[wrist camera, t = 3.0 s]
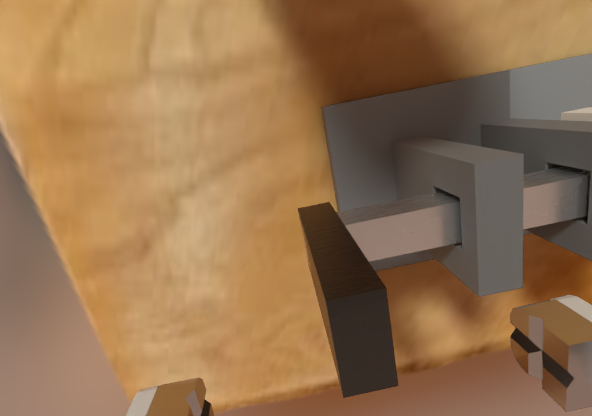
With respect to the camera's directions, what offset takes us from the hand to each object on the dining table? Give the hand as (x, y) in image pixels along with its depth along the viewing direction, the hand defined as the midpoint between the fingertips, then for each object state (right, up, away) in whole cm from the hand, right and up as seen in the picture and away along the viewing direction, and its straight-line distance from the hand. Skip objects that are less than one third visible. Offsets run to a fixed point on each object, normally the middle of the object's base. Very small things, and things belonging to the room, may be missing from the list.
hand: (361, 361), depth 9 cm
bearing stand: (+7, +6, +15) cm, 18 cm away
